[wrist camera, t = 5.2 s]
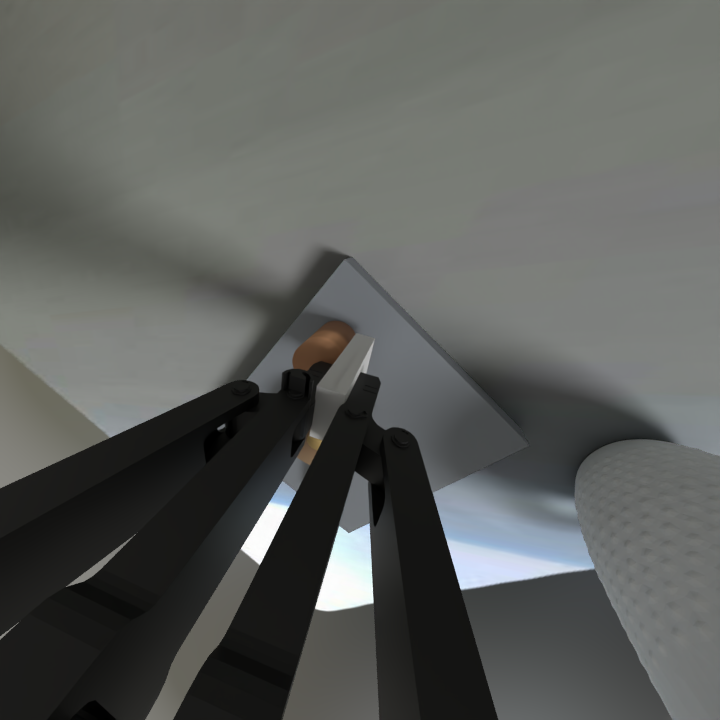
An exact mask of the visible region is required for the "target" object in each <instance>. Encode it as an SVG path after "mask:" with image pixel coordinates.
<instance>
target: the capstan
mask: <svg viewBox="0 0 720 720" xmlns="http://www.w3.org/2000/svg"><path fill="white" fill-rule="evenodd" d="M354 336H355V332H354V330H353V329H352V328H351V327H350V326H349V325H347V324H346V323H344V322H341V321H330V322H327V323H326V324H324V325H323V326H322V327H321V328H320V329H318V330H317V331H316V332H315V333H314V334H313V335H312V336H311V337H309V338H308V339H307V340H306V341H305V342H304V343H303V344H302V345H300V346H299V347H298V348H297V349H296V351H295V352H294V355H293V359H292V364H293V368H294V369H302V370H306V371H307V370H309V368H310V367H311V366H312V365H313V364H314V363H317V362H319V361H323V362H326V363H330V364H334V362H335V361H336V360H337V358H338V357H339V356H340V354H341V353H342V352H343V350H344V349H345V348H346V346H347V345H348V344H349V342H350V341H351V340H352V338H353V337H354ZM310 429H311V428H310ZM321 442H322V440H320V439H317V438H314V437H311V436H310V430H309V431H308V433H307V435H306V441H305V444H304V446H303V448H302V449H301V451H300V453H299V454H298V456H297V458H299V459H300V460H302V461H303V462H305V463H307V464H309V465H310V464H311V462H312V460H313V458H314V456H315V454H316V452H317V450H318V448H319V446H320V444H321Z"/></svg>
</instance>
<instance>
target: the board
mask: <svg viewBox="0 0 720 720" xmlns="http://www.w3.org/2000/svg"><path fill="white" fill-rule="evenodd" d="M330 321H341V322H344V323H346V324H347V325H349V326H350V327H351V328H352V329H353V330H354V332H355V334H356V333H358V334H361V335H365V336H369V337H372V338H375V340H374V344H373V348H372V352H371V356H370V360H369V364H368V369H367V373H366V374H369V375H372V376H376V377H379V379H380V382H381V385H380V389H379V392H378V396H377V399H376V403H375V406H374V409H373V413H372V417H373V420H374V421H375V422H376V423H377V425H379V426H380V427H381V428H383V429H385V430H387V429H389V428H391V427H399V428H402V429H405V430H407V431H409V432H410V433H411V434H412V435H414V436H415V438H416V440H417V442H418V444H419V448H420V451H421V455H422V458H423V462H424V465H425V469H426V472H427V476H428V479H429V482H430V486H431V489H432V493H433V492H435V491H437V490H439V489H441V488H443V487H445V486H447V485H449V484H452V483H454V482H456V481H458V480H460V479H462V478H464V477H466V476H468V475H470V474H472V473H474V472H476V471H479V470H481V469H483V468H485V467H487V466H489V465H491V464H493V463H495V462H497V461H499V460H501V459H503V458H506V457H508V456H510V455H512V454H514V453H516V452H518V451H520V450H522V449H524V448H526V447H528V446H530V445H529V443H528V441H527V439H526V438H525V436H524V434H523V432H522V430H521V428H520V427H519V426H518V425H517V424H516V423H515V422H514V421H513V420H512V419H511V418H510V417H509V416H508V415H507V414H506V413H505V412H504V411H503V410H502V409H501V408H500V407H499V406H498V405H497V404H496V403H495V402H494V401H493V399H492V398H491V397H490V396H489V395H488V394H487V393H486V392H485V391H484V390H483V389H482V388H481V387H480V386H479V385H478V384H477V383H476V382H475V381H474V380H473V379H472V378H471V377H470V376H469V375H468V374H467V373H466V372H465V371H464V370H463V369H462V368H461V367H460V366H459V365H458V364H457V363H456V362H455V361H454V360H453V359H452V358H451V357H450V356H449V355H448V354H447V353H446V352H445V351H444V350H443V349H442V348H441V347H440V346H439V345H438V344H437V343H436V342H435V341H434V340H433V339H432V338H431V337H430V335H429V334H428V333H427V332H426V331H425V330H424V329H423V328H422V327H421V326H420V325H419V324H418V323H417V322H416V321H415V320H414V319H413V318H412V317H411V316H410V315H409V314H408V313H407V312H406V311H405V310H404V309H403V308H402V307H401V306H400V305H399V304H398V303H397V302H396V301H395V300H394V299H393V298H392V297H391V296H390V295H389V294H388V293H387V292H386V291H385V290H384V289H383V288H382V287H381V286H380V285H379V284H378V283H377V282H376V281H375V280H374V279H373V278H372V277H371V276H370V275H369V274H368V273H367V271H366V270H365V269H364V268H363V267H362V266H361V265H360V264H359V263H358V262H357V261H356V260H355V259H354V258H353V257H351V258H347V259H344V261H343V262H342V263H341V264H340V265H339V267H338V268H337V269H336V270H335V272H334V273H333V274H332V275H331V277H330V278H329V279H328V280H327V281H326V283H325V284H324V285H323V286H322V288H321V289H320V290H319V291H318V293H317V294H316V295H315V296H314V297H313V299H312V300H311V301H310V302H309V304H308V305H307V306H306V307H305V309H304V310H303V311H302V312H301V313H300V315H299V316H298V317H297V318H296V320H295V321H294V322H293V323H292V325H291V326H290V327H289V328H288V329H287V331H286V332H285V333H284V334H283V336H282V337H281V338H280V339H279V341H278V342H277V343H276V344H275V345H274V347H273V348H272V349H271V350H270V352H269V353H268V354H267V355H266V357H265V358H264V359H263V360H262V361H261V363H260V364H259V365H258V366H257V368H256V369H255V370H254V371H253V373H252V374H251V375H250V376H249V377H248V379H247V381H252V382H254V383H256V384H257V385H258V386H259V392H264V393H278V392H279V391H280V390H281V382H282V372H284V371H286V370H289V369H294V368H293V364H292V359H293V355H294V352H295V351H296V349H297V348H298V347H299V346H300V345H302V344H303V343H304V342H305V341H306V340H307V339H308V338H309V337H311V336H312V335H313V334H314V333H315V332H316V331H317V330H318V329H320V328H321V327H322V326H323V325H324V324H326V323H327V322H330ZM224 427H225V424H223V425H222V426H220V427H218V428H217V429H218V430H220V429H222V428H224ZM309 466H310V465H309V464H307V463H305V462H303V461H302V460H300V459H299V458H296V459H295V461H294V462H293V464H292V466H291V467H290V469H289V471H288V472H287V474H286V475H285V477H284V479H283V480H282V481H283V482H285V483H286V484H287V485H288V486H290V487H291V488H292V489H294V490H295V491H296V492H297V490H298V488H299V486H300V484H301V482H302V480H303V478H304V476H305V474H306V472H307V470H308V468H309ZM369 523H370V518H369V497H368V481H367V480H366V479H365V478H363V477H362V476H361V475H359V474H358V473H356V472H355V473H354V476H353V479H352V483H351V486H350V490H349V493H348V496H347V500H346V503H345V507H344V510H343V514H342V517H341V520H340V524H339V526H341V527H342V528H343V529H344V530H346V531H347V532H348V533H350V532H352V531H354V530H356V529H358V528H360V527H362V526H364V525H366V524H369Z"/></svg>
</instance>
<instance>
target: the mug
mask: <svg viewBox="0 0 720 720" xmlns="http://www.w3.org/2000/svg"><path fill="white" fill-rule="evenodd" d="M574 497H575V504H576V510H577V512H578V520H579V522H580V526H581V532H582V534H583V538H584V541H585V543H586V545H587V547H588V553H589V555H590V557H591V559H592V562H593V563H594V567H595V570H596V572H597V573H598V577H599V579H600V581H601V582H602V583H603V586H604V588H605V590H606V593H607V596H608V597H609V599H610V601H611V605H612V606H613V608H614V609H615V611H616V613H617V615H618V617H619V619H620V622H621V625H622V626H623V628H624V629H625V630H626V632H627V635H628V638H629V640H630V642H631V643H632V645H633V646H634V648H635V650H636V652H637V654H638V657H639V659H640V662H641V663H642V665H643V666H644V668H645V669H646V671H647V672H648V675H649V678H650V681H651V682H652V684H653V685H654V687H655V689H656V690H657V692H658V693H659V695H660V697H661V699H662V700H663V703H664V705H665V706H666V708H667V710H668V712H669V714H670V716H671V718H672V720H720V456H717V455H713V454H710V453H707V452H704V451H702V450H699V449H695V448H690V447H687V446H683V445H679V444H675V443H670V442H665V441H658V440H649V439H632V440H624V441H618V442H614V443H611V444H608V445H605V446H603V447H601V448H599V449H597V450H596V451H594V452H593V453H591V454H590V455H589V456H588V457H587V458H586V459H585V460H584V461H583V462H582V464H581V465H580V467H579V469H578V471H577V475H576V480H575V494H574Z"/></svg>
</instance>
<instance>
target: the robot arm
mask: <svg viewBox="0 0 720 720" xmlns="http://www.w3.org/2000/svg"><path fill="white" fill-rule="evenodd" d="M374 340H375V338H372V337H369V336H365V335H361V334H358V333H356V334H355V336H354V337H353V338H352V340H351V341H350V342H349V344H348V345H347V346H346V348H345V349H344V350H343V352H342V353H341V354H340V356H339V357H338V358H337V360H336V361H335V362H334V364H330V363H326V362H323V361H319V362H317V363H314V364H313V365H312V366H311V367H310V368H309V370H307V371H306V370H302V369H289V370H286V371H284V372H282V382H281V390H280V391H279V392H278V393H264V392H259V386H258V385H257V384H256V383H254V382H252V381H247V380H239V381H234V382H231V383H228V384H226V385H224V386H222V387H220V388H217V389H215V390H213V391H211V392H209V393H207V394H204V395H202V396H200V397H198V398H196V399H194V400H191V401H189V402H187V403H185V404H183V405H181V406H178V407H176V408H174V409H172V410H170V411H167V412H165V413H163V414H161V415H159V416H157V417H154V418H152V419H150V420H148V421H146V422H144V423H141V424H139V425H137V426H135V427H133V428H131V429H128V430H126V431H124V432H122V433H120V434H118V435H115V436H113V437H111V438H109V439H107V440H105V441H102V442H100V443H98V444H96V445H94V446H91V447H89V448H87V449H85V450H83V451H81V452H78V453H76V454H75V455H72V456H70V457H68V458H65V459H63V460H61V461H59V462H57V463H55V464H52V465H50V466H48V467H46V468H44V469H41V470H39V471H37V472H35V473H33V474H31V475H28V476H26V477H24V478H22V479H20V480H18V481H15V482H13V483H11V484H9V485H7V486H5V487H2V488H0V636H1V635H2V634H4V633H5V632H6V631H8V630H9V629H10V628H12V627H13V626H14V625H16V624H17V623H18V622H19V623H18V624H17V625H16V626H15V627H14V628H13V629H11V630H10V631H9V632H8V633H7V634H6V635H5V636H4V637H3V638H2V639H1V640H0V720H145V719H146V717H147V715H148V714H149V712H150V710H151V708H152V707H153V705H154V703H155V701H156V699H157V698H158V696H159V694H160V691H161V689H162V687H163V685H164V683H165V681H166V678H167V675H168V672H169V669H170V666H171V664H172V662H173V660H174V658H175V656H176V654H177V652H178V650H179V649H180V647H181V645H182V644H183V642H184V640H185V639H186V637H187V635H188V634H189V632H190V631H191V629H192V627H193V626H194V624H195V622H196V621H197V619H198V617H199V616H200V614H201V613H202V611H203V609H204V608H205V606H206V604H207V603H208V601H209V600H210V597H211V596H212V595H213V593H214V591H215V590H216V588H217V587H218V585H219V583H220V582H221V580H222V578H223V577H224V575H225V573H226V572H227V570H228V568H229V567H230V565H231V564H232V562H233V560H234V559H235V557H236V555H237V554H238V552H239V551H240V549H241V547H242V546H243V544H244V542H245V541H246V539H247V538H248V536H249V534H250V533H251V531H252V529H253V528H254V526H255V524H256V523H257V521H258V520H259V518H260V516H261V515H262V513H263V511H264V510H265V508H266V506H267V505H268V503H269V502H270V500H271V498H272V497H273V495H274V493H275V492H276V490H277V489H278V487H279V485H280V484H281V482H282V480H283V479H284V477H285V475H286V474H287V472H288V471H289V469H290V467H291V466H292V464H293V462H294V461H295V459H296V458H297V456H298V454H299V453H300V451H301V449H302V448H303V446H304V444H305V441H306V435H307V433H308V431H309V430H310V436H311V437H314V438H317V439H320V440H322V442H321V444H320V446H319V448H318V450H317V452H316V454H315V456H314V458H313V460H312V462H311V464H310V466H309V468H308V470H307V472H306V474H305V476H304V478H303V480H302V482H301V484H300V486H299V488H298V490H297V492H296V494H295V496H294V498H293V500H292V502H291V504H290V506H289V508H288V510H287V512H286V514H285V516H284V518H283V520H282V522H281V524H280V526H279V528H278V530H277V532H276V534H275V536H274V538H273V540H272V542H271V544H270V546H269V548H268V550H267V552H266V554H265V556H264V558H263V560H262V562H261V564H260V566H259V569H258V570H257V573H256V575H255V577H254V579H253V581H252V583H251V585H250V587H249V589H248V591H247V593H246V595H245V597H244V599H243V601H242V603H241V605H240V607H239V609H238V611H237V613H236V615H235V617H234V619H233V621H232V623H231V625H230V627H229V628H228V630H227V632H226V634H225V636H224V638H223V639H222V641H221V642H220V644H219V645H218V646H217V648H216V649H215V650H214V651H213V652H212V653H211V654H210V655H209V657H208V658H207V660H206V661H205V663H204V664H203V666H202V667H201V669H200V671H199V672H198V674H197V676H196V678H195V680H194V681H193V683H192V685H191V687H190V689H189V690H188V692H187V694H186V696H185V698H184V700H183V702H182V704H181V706H180V708H179V709H178V712H177V713H176V716H175V717H174V719H173V720H283V716H284V713H285V709H286V706H287V702H288V699H289V695H290V692H291V688H292V685H293V682H294V678H295V675H296V671H297V668H298V665H299V661H300V657H301V654H302V651H303V647H304V644H305V640H306V637H307V634H308V630H309V627H310V623H311V620H312V616H313V613H314V610H315V606H316V603H317V599H318V596H319V593H320V589H321V586H322V582H323V579H324V575H325V572H326V569H327V565H328V562H329V558H330V555H331V551H332V548H333V544H334V541H335V538H336V534H337V531H338V527H339V524H340V520H341V517H342V514H343V510H344V507H345V503H346V500H347V496H348V493H349V490H350V486H351V483H352V479H353V476H354V473H355V472H356V473H358V474H359V475H361V476H362V477H363V478H365V479H366V480H367V481H368V497H369V518H370V538H371V558H372V578H373V598H374V619H375V639H376V658H377V679H378V698H379V720H498V718H497V714H496V711H495V707H494V704H493V700H492V697H491V693H490V690H489V686H488V683H487V680H486V676H485V673H484V669H483V666H482V662H481V659H480V655H479V652H478V648H477V645H476V642H475V638H474V635H473V631H472V628H471V625H470V621H469V618H468V614H467V610H466V607H465V603H464V600H463V597H462V593H461V590H460V586H459V583H458V579H457V576H456V572H455V569H454V565H453V562H452V559H451V555H450V552H449V548H448V545H447V541H446V538H445V534H444V531H443V527H442V524H441V521H440V517H439V514H438V510H437V507H436V503H435V500H434V496H433V493H432V489H431V486H430V482H429V479H428V476H427V472H426V469H425V465H424V462H423V458H422V455H421V451H420V448H419V444H418V442H417V440H416V438H415V436H414V435H412V434H411V433H410V432H409V431H407V430H405V429H402V428H399V427H391V428H389V429H387V430H385V429H383V428H381V427H380V426H379V425H377V423H376V422H375V421H374V420H373V417H372V413H373V409H374V406H375V403H376V399H377V396H378V392H379V389H380V385H381V382H380V379H379V377H376V376H372V375H369V374H366V373H367V369H368V364H369V360H370V356H371V352H372V348H373V344H374ZM223 424H225V427H224V428H222V429H220V430H218V429H217V428H218V427H220V426H222V425H223ZM310 428H311V429H310ZM137 532H138V533H137ZM136 533H137V534H136ZM134 534H136V535H135V536H134V537H133V538H132V539H131V540H130V541H129V542H128V543H127V544H126V545H125V546H124V547H123V548H122V549H121V550H120V551H119V552H118V553H117V554H116V555H115V556H114V557H113V558H112V559H111V560H110V561H109V562H108V563H107V564H106V565H105V566H104V567H103V568H102V569H101V570H100V571H98V572H97V573H96V574H95V575H94V576H92V577H91V578H89V579H88V580H86V581H84V582H81V583H78V584H75V585H71V586H68V587H66V586H67V585H69V584H70V583H71V582H72V581H74V580H75V579H77V578H78V577H79V576H81V575H82V574H83V573H84V572H86V571H87V570H88V569H90V568H91V567H92V566H94V565H95V564H96V563H98V562H99V561H100V560H102V559H103V558H104V557H106V556H107V555H108V554H109V553H111V552H112V551H113V550H115V549H116V548H118V547H119V546H120V545H121V544H123V543H124V542H126V541H127V540H128V539H129V538H131V537H132V536H133V535H134Z"/></svg>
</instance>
